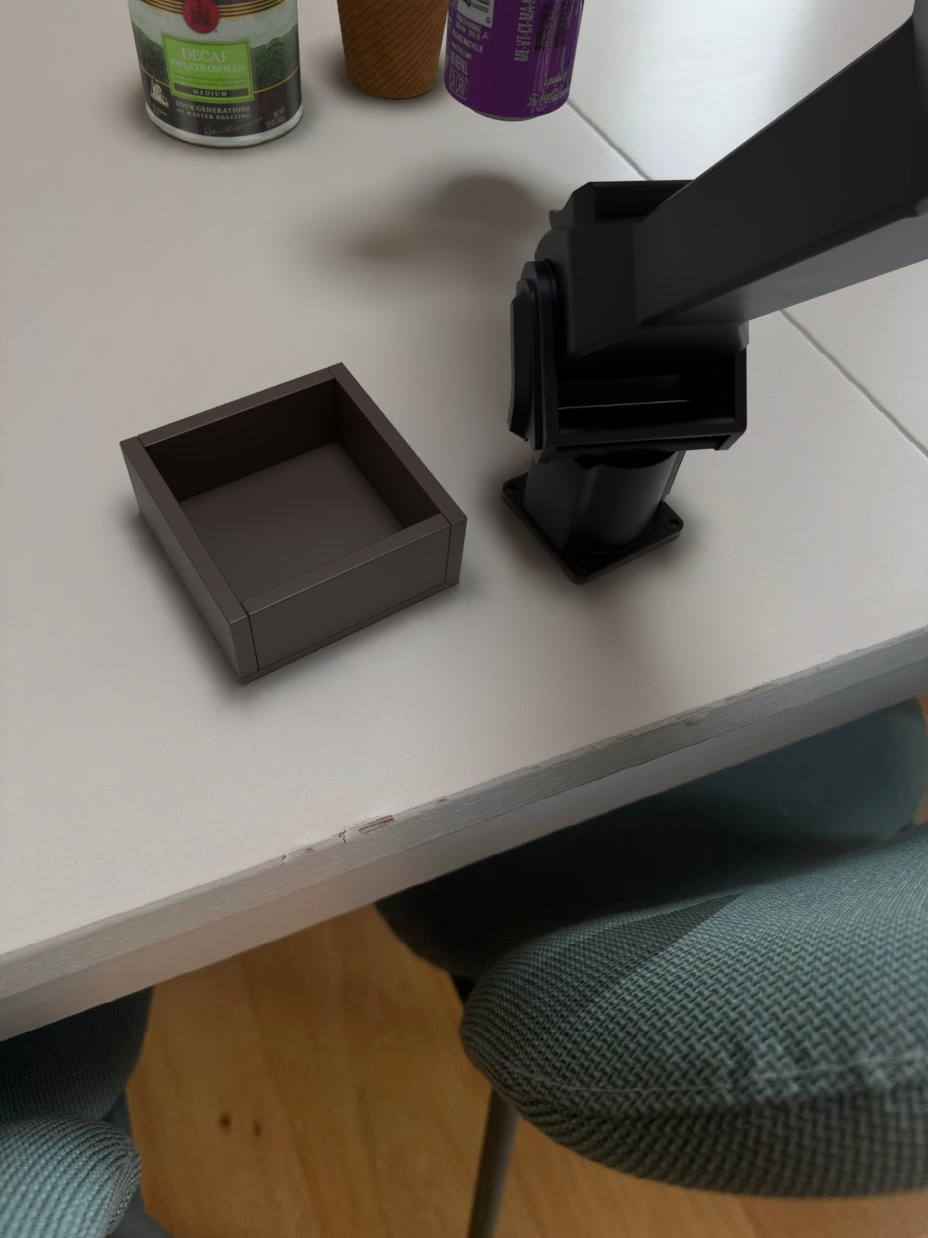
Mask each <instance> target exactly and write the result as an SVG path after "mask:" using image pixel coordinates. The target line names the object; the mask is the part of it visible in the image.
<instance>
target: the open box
mask: <svg viewBox="0 0 928 1238" xmlns="http://www.w3.org/2000/svg"><path fill="white" fill-rule="evenodd" d="M118 444H119V448H120V451H121V454H122V457H123V460H124V463H125V464H124V465H125V467H126V470H127V474H128V477H129V480H130V484H131V487H132V490H133V493H134V497H135V499H136V503H137V505H138V509H139V512H140V514H141V516H142V517H143V519H144V521H145V522H146V524H147V526H148V528H149V529H150V531H151V532H152V534H153V536H154V537H155V540H156V541H157V543H158V544H159V546H160V547H161V550H162V552H163V553H164V555H165V556H166V558H167V560H168V562H169V563H170V565H171V567H172V568H173V570H174V572H175V574H176V575H177V577H178V578H179V581H180V582H181V583H182V585H183V587H184V589H185V590H186V592H187V594H188V596H189V597H190V599H191V600H192V602H193V604H194V605H195V608H196V609H197V610H198V612H199V614H200V616H201V617H202V619H203V621H204V623H205V624H206V626H207V628H208V629H209V632H210V633H211V634H212V636H213V638H214V639H215V641H216V643H217V645H218V646H219V648H220V650H221V651H222V653H223V655H224V657H225V658H226V660H227V662H228V663H229V666H231V668H232V670H233V672H234V673H235V675H236V677H237V679H238V680H239V681H240V683H241V685H245V684H247V683H250V682H252V681H254V680H256V679H259V678H261V677H263V676H264V675H267V674H269V673H271V672H272V671H275V670H276V669H279V668H282V667H283V666H285V665H287V664H289V663H291V662H294V661H295V660H298V659H300V658H302V657H304V656H306V655H309V654H310V653H312V652H314V651H317V650H319V649H321V648H324V647H325V646H327V645H329V644H331V643H334V642H335V641H338V640H340V639H343V638H344V637H346V636H347V635H348V636H349V635H350V634H352V633H354V632H356V631H358V630H360V629H363V628H365V627H368V626H369V625H371V624H373V623H375V622H377V621H381V620H382V619H384V618H385V617H388V616H390V615H392V614H394V613H397V612H399V611H401V610H402V609H405V608H407V607H409V606H411V605H413V604H416V603H417V602H420V601H422V600H424V599H426V598H428V597H430V596H432V595H434V594H436V593H438V592H440V591H443V590H445V589H447V588H448V587H451V586H453V585H455V584H457V583H459V582H460V577H461V576H460V575H461V571H462V564H463V563H462V562H463V556H464V548H465V540H466V532H467V527H468V526H467V525H468V520H469V519H468V516H467V514H465V512H464V511H463V510H462V509H461V508H460V506H459V505H458V504H457V502H456V501H455V500H454V499H453V498H452V496H451V495H450V494H449V493H448V491H447V490H446V489H445V488H444V486H443V485H442V484H441V483H440V481H439V479H437V478H436V476H435V475H434V474H433V472H431V470H430V469H429V468H428V467H427V465H426V464H425V463H424V462H423V460H422V459H421V458H420V457H419V456H418V454H417V453H416V452H415V450H414V449H413V448H412V447H411V445H410V444H409V443H408V442H407V441H406V439H405V438H404V437H403V436H402V434H401V433H400V432H399V431H398V429H397V428H396V427H395V426H394V424H393V423H392V422H391V420H389V418H388V417H387V416H386V414H385V413H384V412H383V411H382V409H381V408H380V407H379V405H377V403H376V402H375V401H374V400H373V398H372V397H371V396H370V395H369V393H368V392H367V391H366V389H365V388H364V387H363V386H362V384H360V382H359V381H358V380H357V379H356V378H355V376H354V374H353V373H352V372H351V371H350V370H349V369H348V367H347V366H346V365H345V363H344V362H342V361H340V362H337V363H335V364H332V365H329V366H327V367H324V368H321V369H317V370H315V371H311V372H309V373H306V374H304V375H301V376H298V377H296V378H293V379H290V380H286V381H284V382H282V383H279V384H276V385H273V386H270V387H267V388H265V389H261V390H259V391H256V392H253V393H251V394H248V395H245V396H243V397H242V396H241V397H239V398H237V399H234V400H231V401H229V402H225V403H223V404H220V405H217V406H215V407H211V408H209V409H206V410H203V411H201V412H198V413H194V414H192V415H189V416H187V417H183V418H181V419H178V420H175V421H172V422H170V423H167V424H164V425H161V426H158V427H155V428H153V429H150V430H147V431H144V432H142V433H139V434H137V435H134V436H130V437H128V438H126V439H123V440H120V441H119V443H118Z"/></svg>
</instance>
